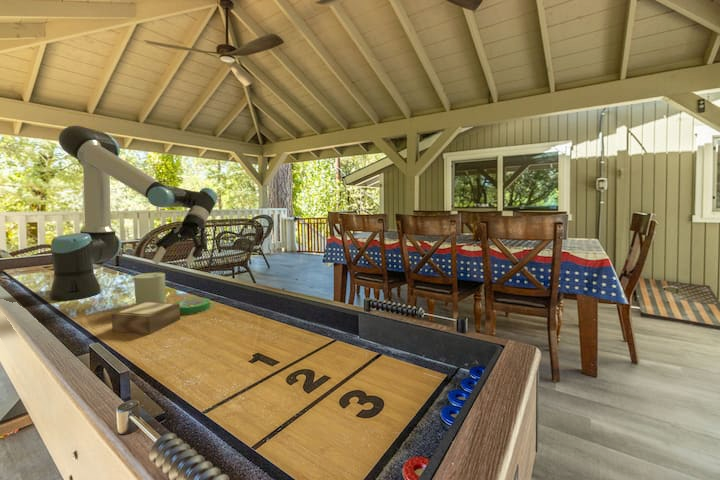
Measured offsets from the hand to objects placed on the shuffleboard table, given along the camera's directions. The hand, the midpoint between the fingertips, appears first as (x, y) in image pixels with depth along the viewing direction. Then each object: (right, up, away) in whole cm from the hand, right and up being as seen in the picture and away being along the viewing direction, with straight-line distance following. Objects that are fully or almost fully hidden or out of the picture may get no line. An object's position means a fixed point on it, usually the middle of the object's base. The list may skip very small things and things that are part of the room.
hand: (171, 263), depth 124 cm
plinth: (+6, -17, -24) cm, 30 cm away
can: (-2, -15, -8) cm, 17 cm away
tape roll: (+12, -15, -8) cm, 21 cm away
